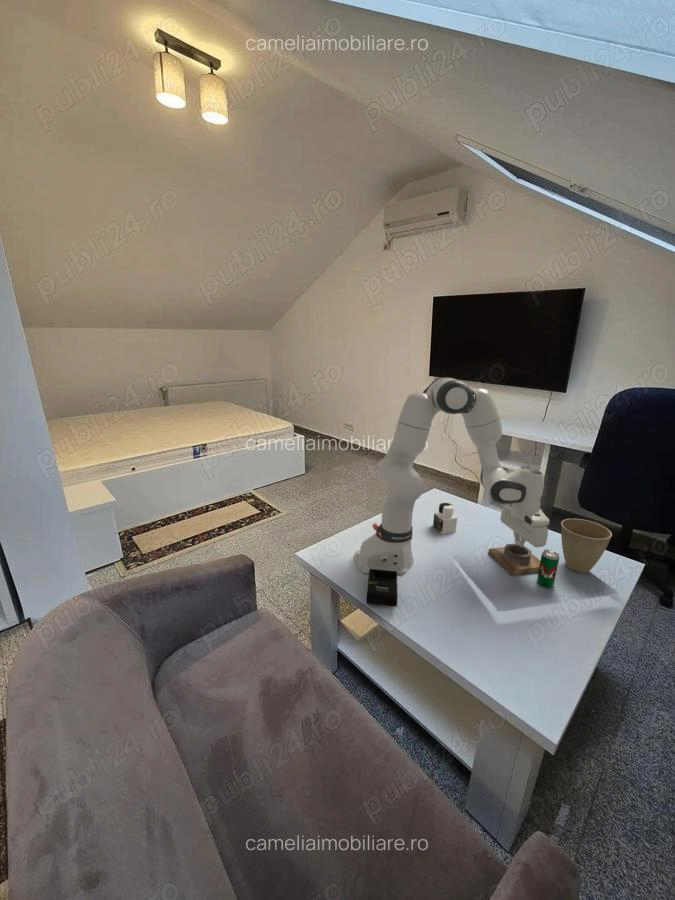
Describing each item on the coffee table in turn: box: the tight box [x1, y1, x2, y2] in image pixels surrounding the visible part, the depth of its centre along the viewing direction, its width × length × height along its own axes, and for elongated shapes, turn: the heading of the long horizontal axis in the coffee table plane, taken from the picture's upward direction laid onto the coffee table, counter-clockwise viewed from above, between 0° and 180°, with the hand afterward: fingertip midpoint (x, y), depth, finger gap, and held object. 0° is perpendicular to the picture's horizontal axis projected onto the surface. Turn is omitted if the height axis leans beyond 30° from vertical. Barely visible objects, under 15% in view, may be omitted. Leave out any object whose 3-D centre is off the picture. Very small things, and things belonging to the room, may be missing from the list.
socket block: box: [487, 543, 541, 576], centre depth 134 cm, size 14×14×5 cm
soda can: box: [536, 548, 560, 588], centre depth 121 cm, size 5×5×12 cm
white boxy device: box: [432, 502, 458, 535], centre depth 155 cm, size 7×7×12 cm
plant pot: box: [560, 518, 613, 574], centre depth 129 cm, size 15×15×16 cm
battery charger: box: [365, 569, 398, 608], centre depth 118 cm, size 13×10×4 cm
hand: (518, 544), depth 132 cm, fingers closed
